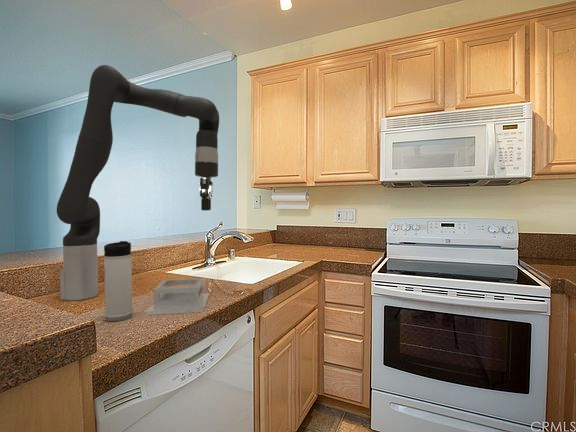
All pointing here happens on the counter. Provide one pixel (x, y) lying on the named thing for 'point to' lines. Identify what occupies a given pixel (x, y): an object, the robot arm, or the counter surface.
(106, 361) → the counter surface
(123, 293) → the travel mug
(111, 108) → the robot arm
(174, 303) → the collar stand
